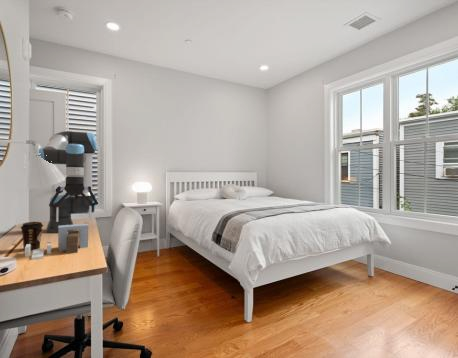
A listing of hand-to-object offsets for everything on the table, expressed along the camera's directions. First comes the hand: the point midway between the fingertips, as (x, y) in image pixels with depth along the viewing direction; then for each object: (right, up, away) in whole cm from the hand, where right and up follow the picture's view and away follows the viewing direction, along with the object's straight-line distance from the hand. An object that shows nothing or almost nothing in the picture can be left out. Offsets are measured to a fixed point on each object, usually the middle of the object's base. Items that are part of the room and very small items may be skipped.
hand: (74, 220), depth 123 cm
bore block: (-4, -15, +6) cm, 17 cm away
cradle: (-13, -15, -6) cm, 21 cm away
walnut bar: (-3, -15, +4) cm, 16 cm away
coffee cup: (-22, -15, +2) cm, 27 cm away
